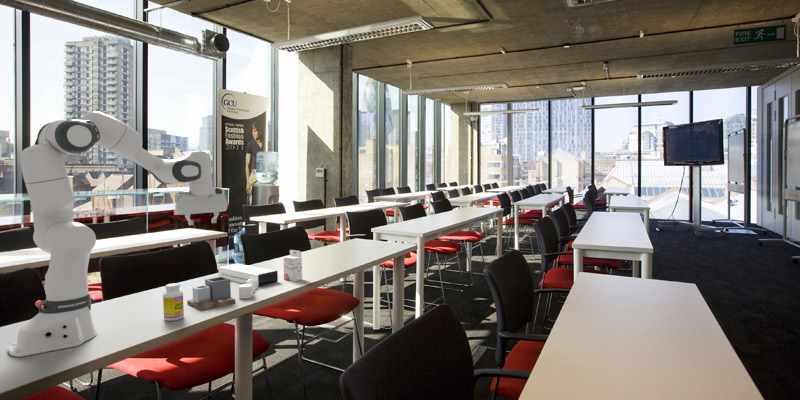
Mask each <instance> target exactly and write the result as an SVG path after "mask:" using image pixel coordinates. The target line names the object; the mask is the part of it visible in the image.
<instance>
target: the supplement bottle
mask: <svg viewBox="0 0 800 400" xmlns="http://www.w3.org/2000/svg"><path fill="white" fill-rule="evenodd" d="M180 285H181V284H180V283H177V282H176V283H175V282H173V283H168V284H166V285H165V290H166V291H165V292H164V293H163V294H162V300H163V301H162V302H163V303H162V304H163V320H165V321H168V322H175V321H179V320H182V319H183V318H184V316H185V313H184V312H185V309H184V293H183V291H182V290H180V288H181V287H180Z"/></svg>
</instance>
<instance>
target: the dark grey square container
mask: <svg viewBox="0 0 800 400" xmlns="http://www.w3.org/2000/svg"><path fill="white" fill-rule="evenodd" d="M204 285H206V286H209V287H210V300H211V301H213V302H214V301H218V300H223V299H227V298H232V294H231V291H232V289H231V281H230V279H229V278H225V277H219V276H217V277H211V278H206V279H204Z"/></svg>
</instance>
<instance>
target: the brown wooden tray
mask: <svg viewBox="0 0 800 400" xmlns="http://www.w3.org/2000/svg"><path fill="white" fill-rule="evenodd" d="M186 303H187V305H189V306H191V307H193V308H195V309H198V310H199V311H201V312H202V311H206V310H211V309H214V308H219V307H224V306H227V305H233V304H236V298H234V297H231V298H227V299H223V300H218V301H214V302H213V301H210V302H205V303H201V304H197V303H195V302H193V298H192V299H187V302H186Z"/></svg>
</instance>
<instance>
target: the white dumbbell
mask: <svg viewBox="0 0 800 400" xmlns="http://www.w3.org/2000/svg"><path fill="white" fill-rule="evenodd" d="M258 288H259V287H257V281H256V280H255V279H253V278H250V279H249V280H247V282H246V284H243V283H240V285H239V286H238V299H252V297H253V295H254V294H255V291H256V290H257V289H258Z"/></svg>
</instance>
